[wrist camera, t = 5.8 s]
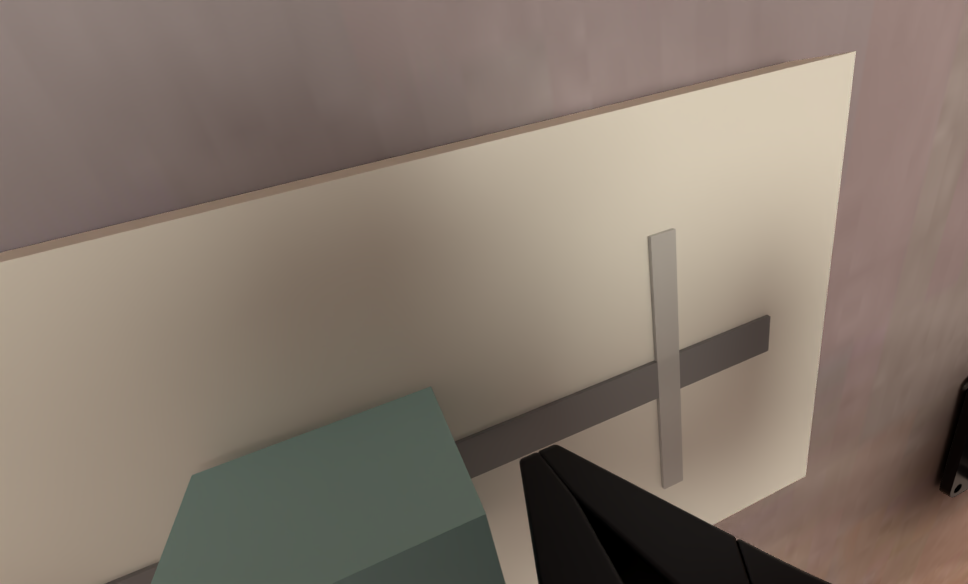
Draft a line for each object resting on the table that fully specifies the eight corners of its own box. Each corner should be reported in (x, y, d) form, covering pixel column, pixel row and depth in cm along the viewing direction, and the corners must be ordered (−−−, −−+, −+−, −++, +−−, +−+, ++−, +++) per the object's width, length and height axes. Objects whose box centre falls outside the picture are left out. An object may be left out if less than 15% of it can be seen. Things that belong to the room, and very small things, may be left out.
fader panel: (763, 446, 15) (808, 478, 14) (-88, 864, 10) (-158, 989, 8) (788, 61, 11) (860, 50, 9) (-833, 454, 5) (-1284, 580, 4)
